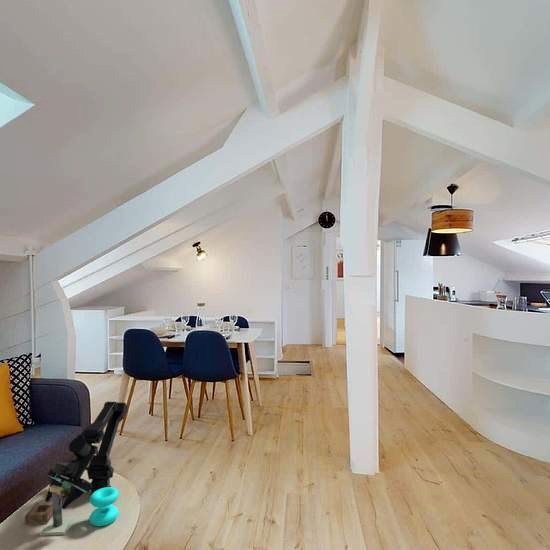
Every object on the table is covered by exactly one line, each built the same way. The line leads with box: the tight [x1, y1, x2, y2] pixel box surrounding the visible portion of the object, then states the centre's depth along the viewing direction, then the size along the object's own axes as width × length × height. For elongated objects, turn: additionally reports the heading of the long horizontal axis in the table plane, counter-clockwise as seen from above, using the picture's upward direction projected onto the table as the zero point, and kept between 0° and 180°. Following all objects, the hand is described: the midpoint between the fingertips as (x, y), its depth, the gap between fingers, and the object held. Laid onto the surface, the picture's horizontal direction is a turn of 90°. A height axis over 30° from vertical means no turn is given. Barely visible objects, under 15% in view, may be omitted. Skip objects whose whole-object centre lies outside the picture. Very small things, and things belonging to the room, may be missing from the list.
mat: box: [39, 517, 75, 537], centre depth 140 cm, size 8×8×1 cm
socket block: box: [24, 501, 53, 525], centre depth 146 cm, size 8×8×3 cm
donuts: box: [89, 486, 120, 527], centre depth 145 cm, size 10×10×10 cm
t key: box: [48, 485, 64, 527], centre depth 140 cm, size 6×3×14 cm, turn 63°
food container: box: [61, 479, 75, 499], centre depth 162 cm, size 12×6×10 cm, turn 168°
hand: (54, 504), depth 139 cm, fingers open, 9 cm apart
